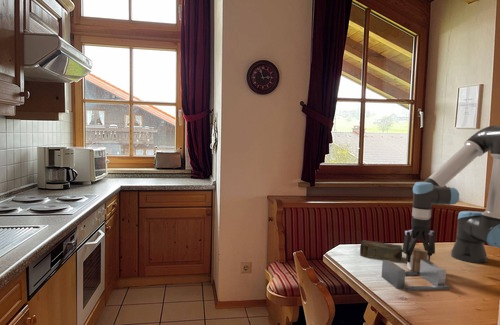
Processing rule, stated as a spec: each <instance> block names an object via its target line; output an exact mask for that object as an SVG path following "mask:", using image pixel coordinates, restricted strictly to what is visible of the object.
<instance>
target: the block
mask: <svg viewBox="0 0 500 325" xmlns="http://www.w3.org/2000/svg"><path fill="white" fill-rule="evenodd" d="M427 253H428V251H426V250H424V248H422V247H414V250H413V252H412V255H413V264H412V270H411V271H420V261H421V260H426V259H427Z"/></svg>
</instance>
